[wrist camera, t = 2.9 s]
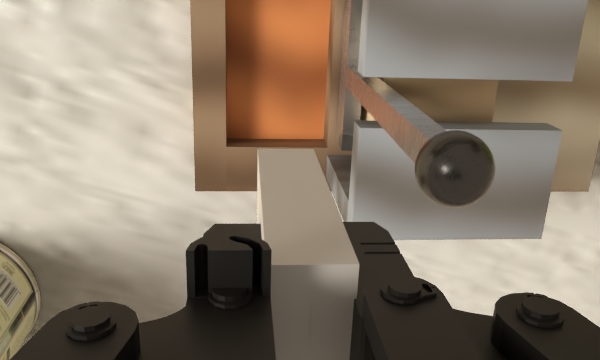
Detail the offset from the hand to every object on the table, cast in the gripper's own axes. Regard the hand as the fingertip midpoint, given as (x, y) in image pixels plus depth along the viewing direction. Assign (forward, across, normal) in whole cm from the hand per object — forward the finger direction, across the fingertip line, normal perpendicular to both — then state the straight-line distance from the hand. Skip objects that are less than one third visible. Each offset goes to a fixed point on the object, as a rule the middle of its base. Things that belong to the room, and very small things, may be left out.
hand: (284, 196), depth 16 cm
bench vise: (+23, +9, 0) cm, 25 cm away
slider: (+21, +9, 0) cm, 22 cm away
